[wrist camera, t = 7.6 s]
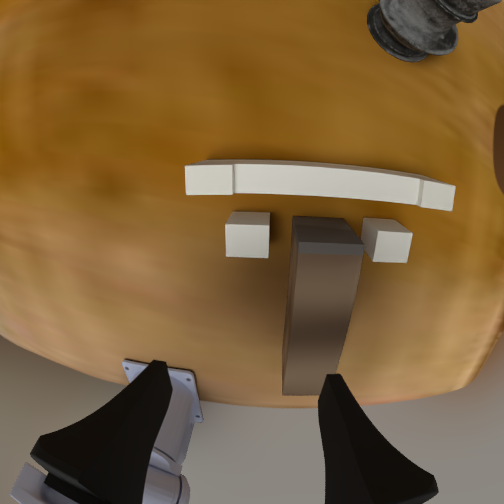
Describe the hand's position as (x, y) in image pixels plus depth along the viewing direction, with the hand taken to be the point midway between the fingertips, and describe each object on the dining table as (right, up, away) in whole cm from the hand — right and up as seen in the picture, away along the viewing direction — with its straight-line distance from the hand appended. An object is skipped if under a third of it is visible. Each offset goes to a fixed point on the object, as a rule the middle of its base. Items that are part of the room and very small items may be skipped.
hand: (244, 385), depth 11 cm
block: (+5, +3, +9) cm, 11 cm away
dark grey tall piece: (+11, +22, +1) cm, 24 cm away
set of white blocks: (+5, +9, +6) cm, 12 cm away
